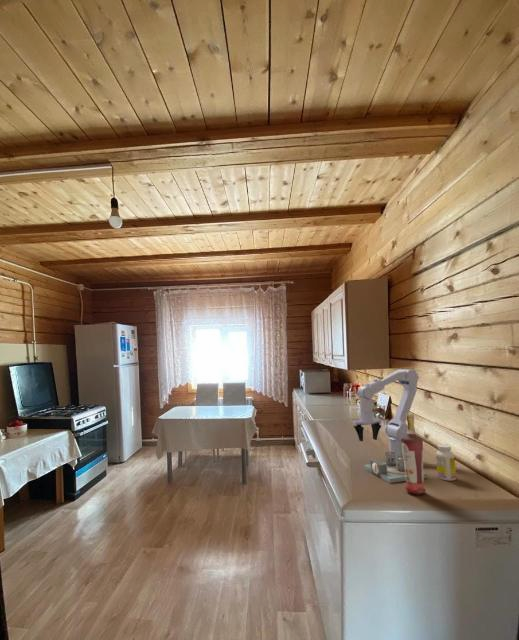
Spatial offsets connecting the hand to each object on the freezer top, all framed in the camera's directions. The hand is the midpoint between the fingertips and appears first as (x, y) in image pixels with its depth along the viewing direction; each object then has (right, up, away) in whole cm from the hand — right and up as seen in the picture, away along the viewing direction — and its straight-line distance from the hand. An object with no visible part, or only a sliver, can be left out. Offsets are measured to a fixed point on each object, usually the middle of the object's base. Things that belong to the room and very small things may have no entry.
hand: (368, 440), depth 161 cm
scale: (+6, -8, -17) cm, 20 cm away
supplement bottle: (+24, -7, -24) cm, 35 cm away
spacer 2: (+8, -5, -20) cm, 23 cm away
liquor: (+5, -6, -38) cm, 38 cm away
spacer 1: (+6, -6, -13) cm, 15 cm away
